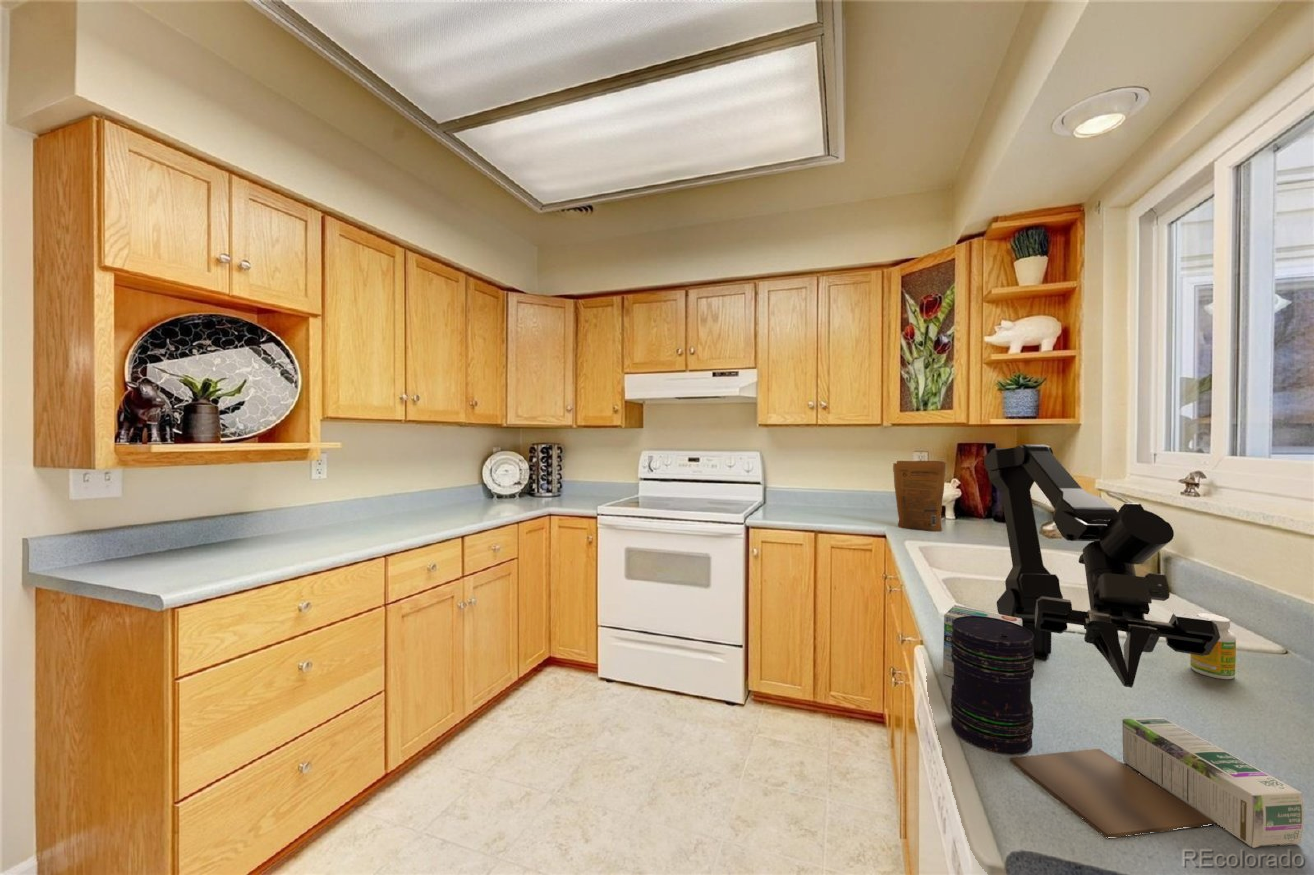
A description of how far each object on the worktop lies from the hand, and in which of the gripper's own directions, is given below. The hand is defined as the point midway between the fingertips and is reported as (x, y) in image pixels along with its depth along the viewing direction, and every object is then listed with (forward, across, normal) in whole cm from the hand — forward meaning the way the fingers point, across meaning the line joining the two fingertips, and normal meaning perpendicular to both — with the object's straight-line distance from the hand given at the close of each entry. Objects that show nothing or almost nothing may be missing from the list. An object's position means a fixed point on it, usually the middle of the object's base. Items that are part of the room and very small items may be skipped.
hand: (1128, 685), depth 69 cm
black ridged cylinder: (+8, -15, +5) cm, 18 cm away
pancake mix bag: (-99, -36, +113) cm, 154 cm away
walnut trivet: (+13, -4, 0) cm, 14 cm away
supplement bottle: (-20, +18, +34) cm, 43 cm away
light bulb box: (-4, -16, +18) cm, 25 cm away
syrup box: (+4, +1, +5) cm, 7 cm away
